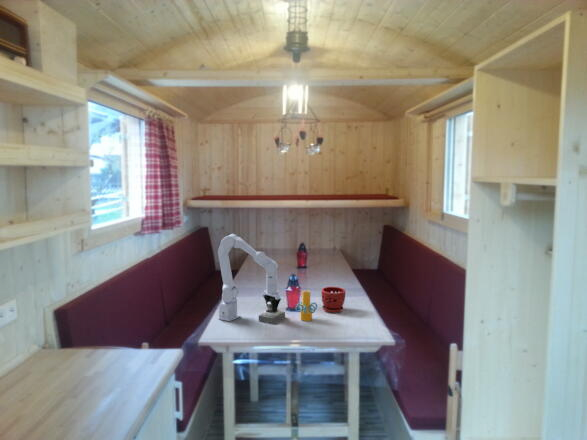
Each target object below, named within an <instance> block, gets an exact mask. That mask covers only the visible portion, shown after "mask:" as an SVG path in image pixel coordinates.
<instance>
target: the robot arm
mask: <svg viewBox="0 0 587 440" xmlns="http://www.w3.org/2000/svg"><path fill="white" fill-rule="evenodd" d="M233 248H234V249H240V250H242V251H244V252H245V253H247V254H248V255H250V256H251V257H252V258H253V262H255V263H257V264H258V265H259V266H261V267H262V268H264V271H265V272H266V274H265V285H266V287H265V289H263V291H264V294H263V298H264V300H265V301H264V302H265V304H266V306H267V302H269V301H271V305H272V311H273V312H276V311H277V309H278V308H279V305H280V302H281V300H282V298H280V297H281V296H280V291H278V268H279V265H278V264H279V263H278V262H277V261H276V260H274V259H272V258H271V257H269V256H267V254H265V252H264V251H257V250H256V249H254V247H252V246H251V245H250V244H249V243H247V241H245V240H243V238H242V237H240V236H238V235H237V234H236V233H231V234H229V235H226V236H224V237H223V238H222V239H221V240H220V244H219V247H218V249H217V257H218V261H219V267H220V272H221V273H220V275H221V279H222V283H223V284H222V288H221V289H222V294H221V299H222V303H221V304H220V305H219V306H218V307H219V308H218V314H219V317H217V319H218V320H220V321H221V320H222V321H225V322H231V321H234V320H237V319H238V318H241V315H239V314H238V299H237V297H238V296H239V291H238V288H237V287H236V284H235V281H234V280H233V274H232V268H231V264H230V263H231V261H230V257H229V252H230V251H231V250H232V249H233Z"/></svg>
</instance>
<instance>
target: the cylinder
mask: <svg viewBox="0 0 587 440" xmlns="http://www.w3.org/2000/svg"><path fill="white" fill-rule="evenodd" d="M301 293H302V296H301V297H302V300H301V301H299V302H298V303H297V304H296V306H295V308H294V309H295V311H296V312H297V313H300V320H301V321H303V322H311V321H312V320H313V313H315V312H316V310H317V308H318V304H317V303H316V302H315V301H314V302H311V291H310V290H307V289H305V290H302V292H301ZM298 309H299V310H298Z"/></svg>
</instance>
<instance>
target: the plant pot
mask: <svg viewBox="0 0 587 440" xmlns="http://www.w3.org/2000/svg"><path fill="white" fill-rule="evenodd" d="M345 301H346V289H344V288H342V287H340V286H326V287H323V288H322V289H321V302H322V304H323V305H322V306H321V309H323V311H325V312H326V313H335V314H337V313H341V312H342V311H343V310H344V303H345Z"/></svg>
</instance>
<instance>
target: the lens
mask: <svg viewBox="0 0 587 440" xmlns="http://www.w3.org/2000/svg"><path fill="white" fill-rule="evenodd" d="M266 309H268V313H276V312H273V311H272V305H271V301H269V302H267V305H266Z"/></svg>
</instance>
